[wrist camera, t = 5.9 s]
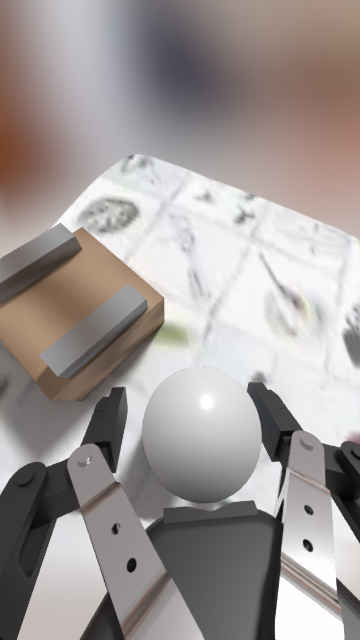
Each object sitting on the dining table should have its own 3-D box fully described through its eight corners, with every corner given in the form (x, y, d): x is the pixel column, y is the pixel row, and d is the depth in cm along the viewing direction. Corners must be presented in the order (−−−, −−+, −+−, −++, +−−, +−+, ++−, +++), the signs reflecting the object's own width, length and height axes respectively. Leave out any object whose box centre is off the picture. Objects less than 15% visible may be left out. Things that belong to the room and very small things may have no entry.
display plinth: (99, 263, 22) (75, 212, 16) (164, 321, 20) (163, 287, 14) (14, 324, 19) (-55, 288, 13) (81, 400, 17) (35, 399, 11)
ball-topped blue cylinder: (180, 373, 18) (196, 345, 9) (220, 411, 17) (283, 422, 8) (143, 416, 17) (116, 432, 8) (184, 460, 16) (211, 540, 7)
